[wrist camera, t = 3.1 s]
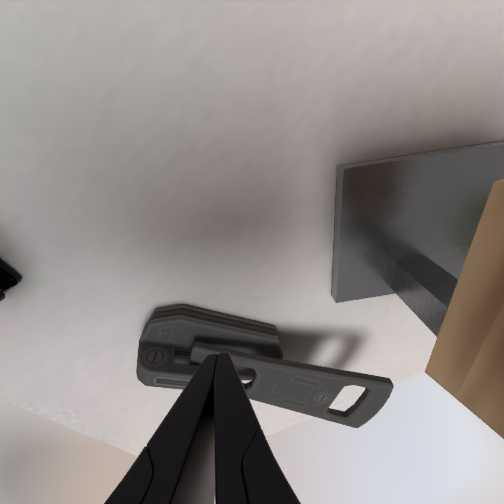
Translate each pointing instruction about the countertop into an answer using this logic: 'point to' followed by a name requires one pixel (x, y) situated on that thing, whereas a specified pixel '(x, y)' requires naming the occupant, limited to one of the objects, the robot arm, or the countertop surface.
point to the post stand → (411, 225)
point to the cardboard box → (477, 323)
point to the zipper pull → (250, 364)
